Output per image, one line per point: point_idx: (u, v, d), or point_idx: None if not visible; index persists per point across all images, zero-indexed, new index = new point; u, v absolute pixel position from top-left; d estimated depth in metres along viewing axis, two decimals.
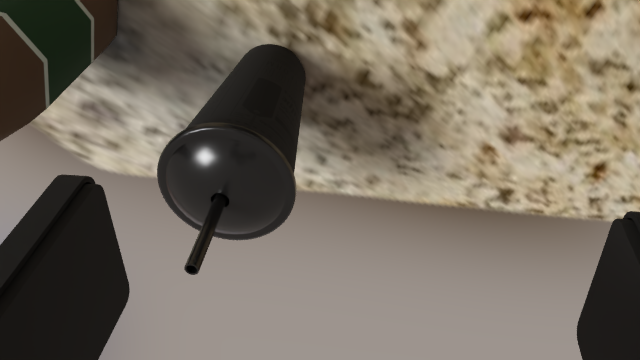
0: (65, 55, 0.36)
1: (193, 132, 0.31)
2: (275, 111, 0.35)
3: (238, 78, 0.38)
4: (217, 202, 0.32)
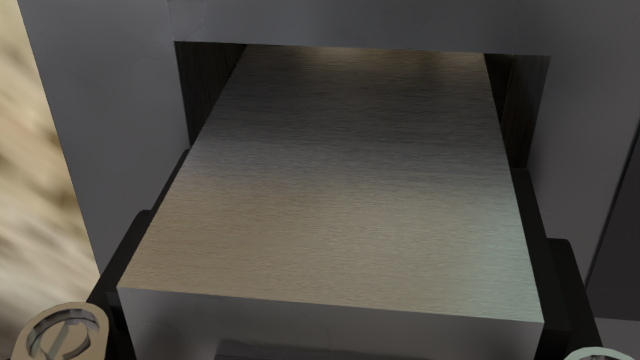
0: None
1: None
2: None
3: None
4: None
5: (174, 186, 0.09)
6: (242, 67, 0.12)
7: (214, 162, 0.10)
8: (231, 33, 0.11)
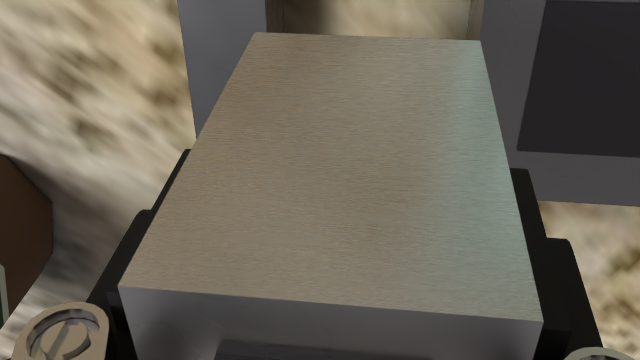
0: None
1: None
2: None
3: None
4: None
5: (175, 186, 0.09)
6: (242, 67, 0.12)
7: (214, 161, 0.10)
8: None
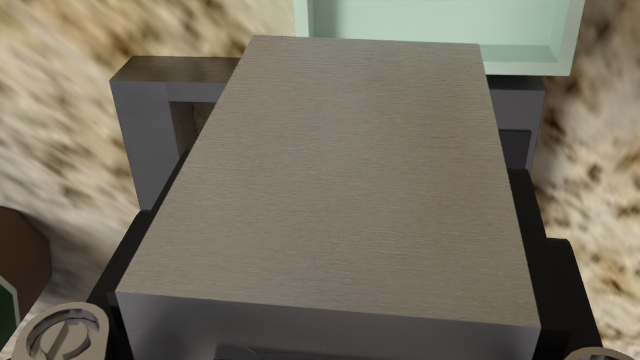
0: None
1: None
2: None
3: None
4: None
5: (172, 190, 0.09)
6: (241, 70, 0.12)
7: (212, 165, 0.10)
8: (189, 98, 0.29)
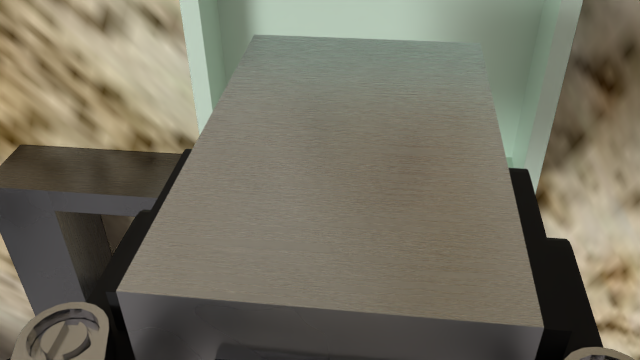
0: None
1: None
2: None
3: None
4: None
5: (174, 189, 0.09)
6: (242, 70, 0.12)
7: (213, 165, 0.10)
8: (79, 209, 0.24)
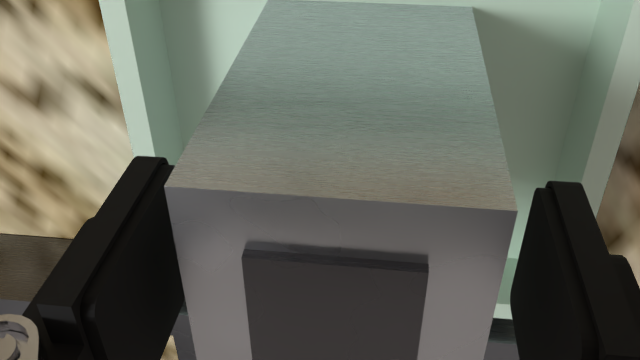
0: None
1: None
2: None
3: None
4: None
5: (206, 115, 0.11)
6: (259, 26, 0.14)
7: (239, 98, 0.11)
8: None
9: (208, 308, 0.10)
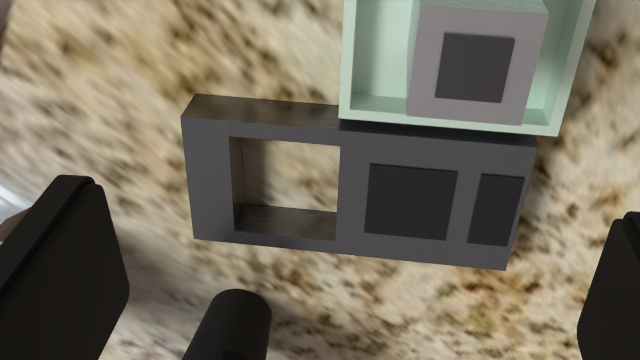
0: None
1: None
2: None
3: (206, 349, 0.41)
4: None
5: None
6: None
7: None
8: (246, 135, 0.35)
9: (421, 64, 0.26)
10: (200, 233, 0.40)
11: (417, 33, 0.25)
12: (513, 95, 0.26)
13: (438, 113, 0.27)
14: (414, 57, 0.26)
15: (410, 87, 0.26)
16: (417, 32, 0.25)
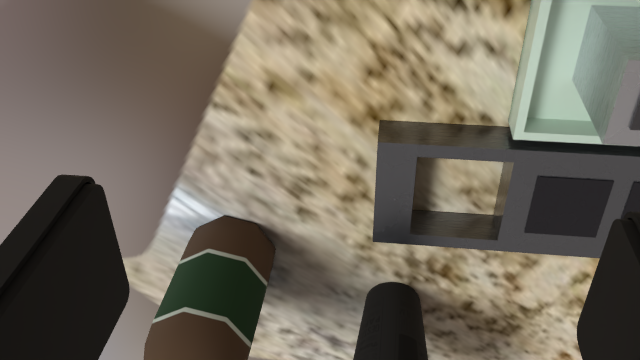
0: None
1: None
2: None
3: (383, 334, 0.48)
4: None
5: (618, 43, 0.33)
6: (601, 16, 0.36)
7: (623, 39, 0.33)
8: (433, 155, 0.42)
9: (622, 104, 0.32)
10: (378, 237, 0.47)
11: (622, 81, 0.32)
12: None
13: (630, 141, 0.34)
14: (616, 99, 0.32)
15: (609, 122, 0.33)
16: (622, 80, 0.32)
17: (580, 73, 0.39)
